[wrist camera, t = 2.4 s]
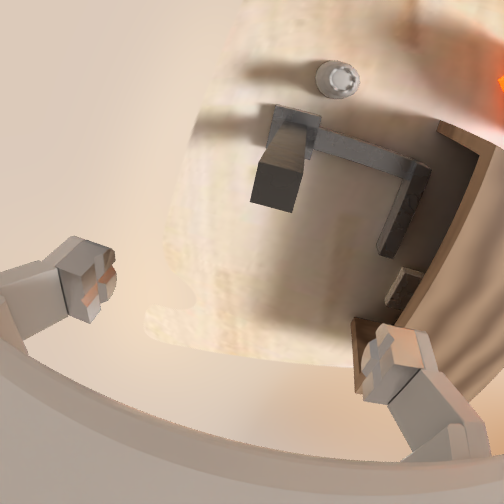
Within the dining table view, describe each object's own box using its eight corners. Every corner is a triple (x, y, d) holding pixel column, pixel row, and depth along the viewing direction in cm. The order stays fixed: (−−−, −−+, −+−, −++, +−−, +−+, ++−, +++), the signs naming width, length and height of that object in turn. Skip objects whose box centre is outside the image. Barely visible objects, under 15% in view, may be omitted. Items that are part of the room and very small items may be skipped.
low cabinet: (350, 323, 46) (354, 393, 35) (440, 119, 29) (496, 145, 18) (448, 344, 45) (466, 404, 34) (543, 181, 28) (597, 223, 17)
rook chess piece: (357, 64, 28) (370, 60, 21) (353, 102, 30) (365, 108, 24) (316, 58, 28) (318, 51, 22) (313, 96, 31) (314, 100, 24)
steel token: (383, 297, 43) (385, 306, 41) (401, 264, 40) (404, 273, 38) (416, 306, 43) (419, 314, 41) (435, 275, 40) (439, 283, 38)
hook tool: (252, 210, 39) (207, 318, 23) (277, 104, 32) (239, 133, 16) (389, 248, 39) (425, 367, 22) (428, 154, 31) (516, 231, 15)
